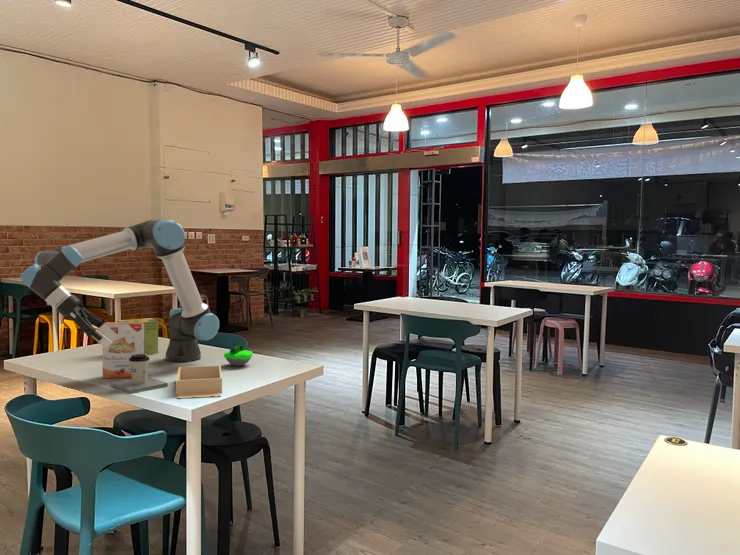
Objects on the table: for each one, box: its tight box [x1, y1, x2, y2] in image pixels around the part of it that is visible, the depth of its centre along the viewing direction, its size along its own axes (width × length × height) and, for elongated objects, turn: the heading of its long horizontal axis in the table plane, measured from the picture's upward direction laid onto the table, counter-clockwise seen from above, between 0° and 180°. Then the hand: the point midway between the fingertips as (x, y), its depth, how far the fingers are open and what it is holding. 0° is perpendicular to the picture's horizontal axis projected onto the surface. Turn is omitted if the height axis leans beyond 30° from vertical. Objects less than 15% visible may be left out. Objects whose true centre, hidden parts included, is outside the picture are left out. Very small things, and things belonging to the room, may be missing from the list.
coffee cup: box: [129, 354, 150, 384], centre depth 199 cm, size 7×7×10 cm
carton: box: [175, 365, 223, 399], centre depth 201 cm, size 15×31×5 cm, turn 17°
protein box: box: [117, 317, 159, 355], centre depth 257 cm, size 10×15×16 cm
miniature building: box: [223, 341, 254, 367], centre depth 237 cm, size 12×12×11 cm
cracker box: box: [102, 321, 144, 379], centre depth 213 cm, size 14×6×21 cm, turn 103°
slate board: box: [110, 375, 169, 394], centre depth 199 cm, size 14×14×1 cm
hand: (112, 341), depth 197 cm, fingers open, 13 cm apart
